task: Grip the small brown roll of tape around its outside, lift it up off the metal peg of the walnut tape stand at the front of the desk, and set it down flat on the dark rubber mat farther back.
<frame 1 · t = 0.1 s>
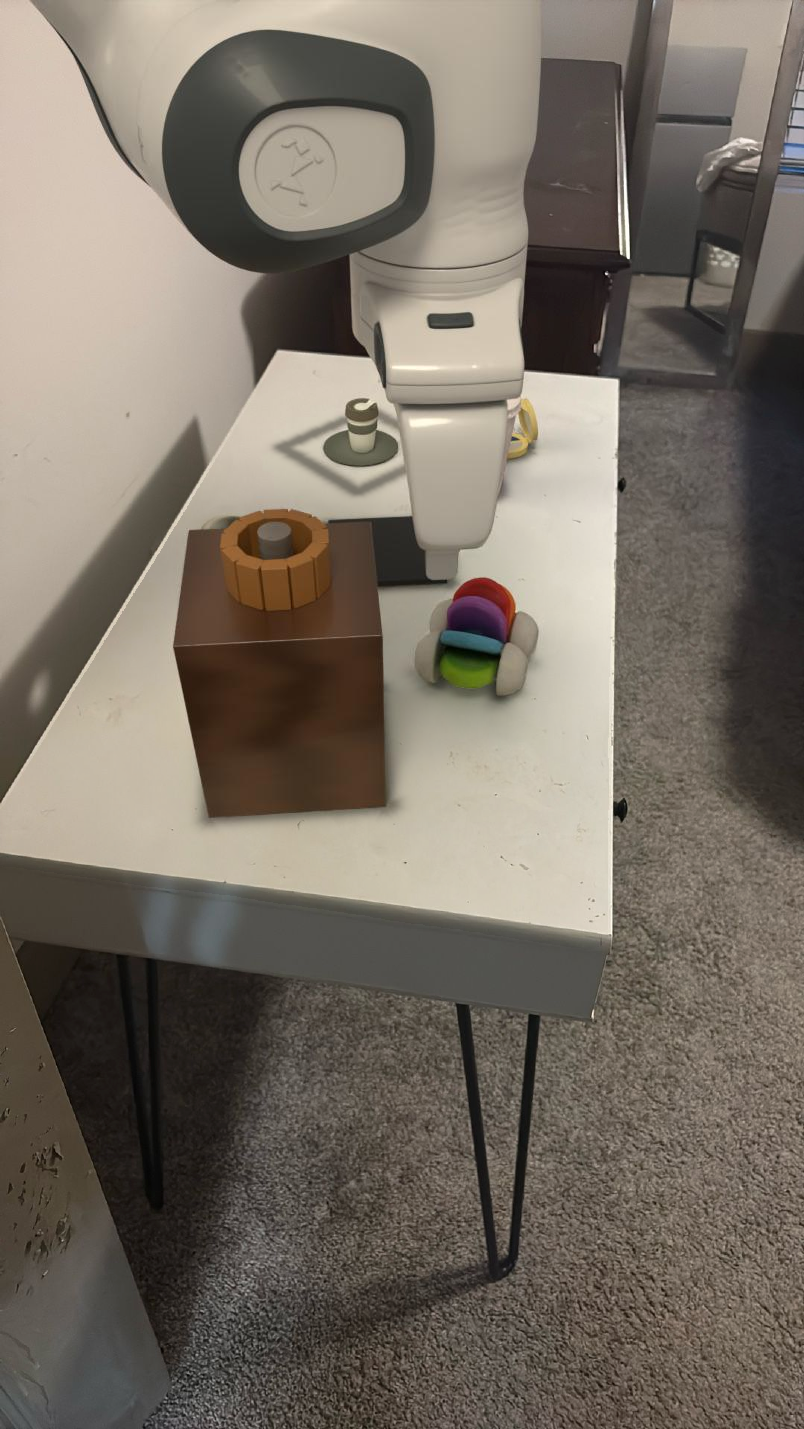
hand: (432, 527, 61), 18 cm above the table, tool pointing down, fingers open, 8 cm apart
mat: (385, 553, 90), on the table
smoothie: (481, 491, 98), on the table
eyeshadow: (508, 449, 104), on the table
tape stand: (297, 749, 72), on the table
tape roll: (279, 578, 61), point 15 cm above the table, touching tape stand
rainbow disc roller toy: (475, 668, 79), on the table
coffee cup: (363, 450, 103), on the table
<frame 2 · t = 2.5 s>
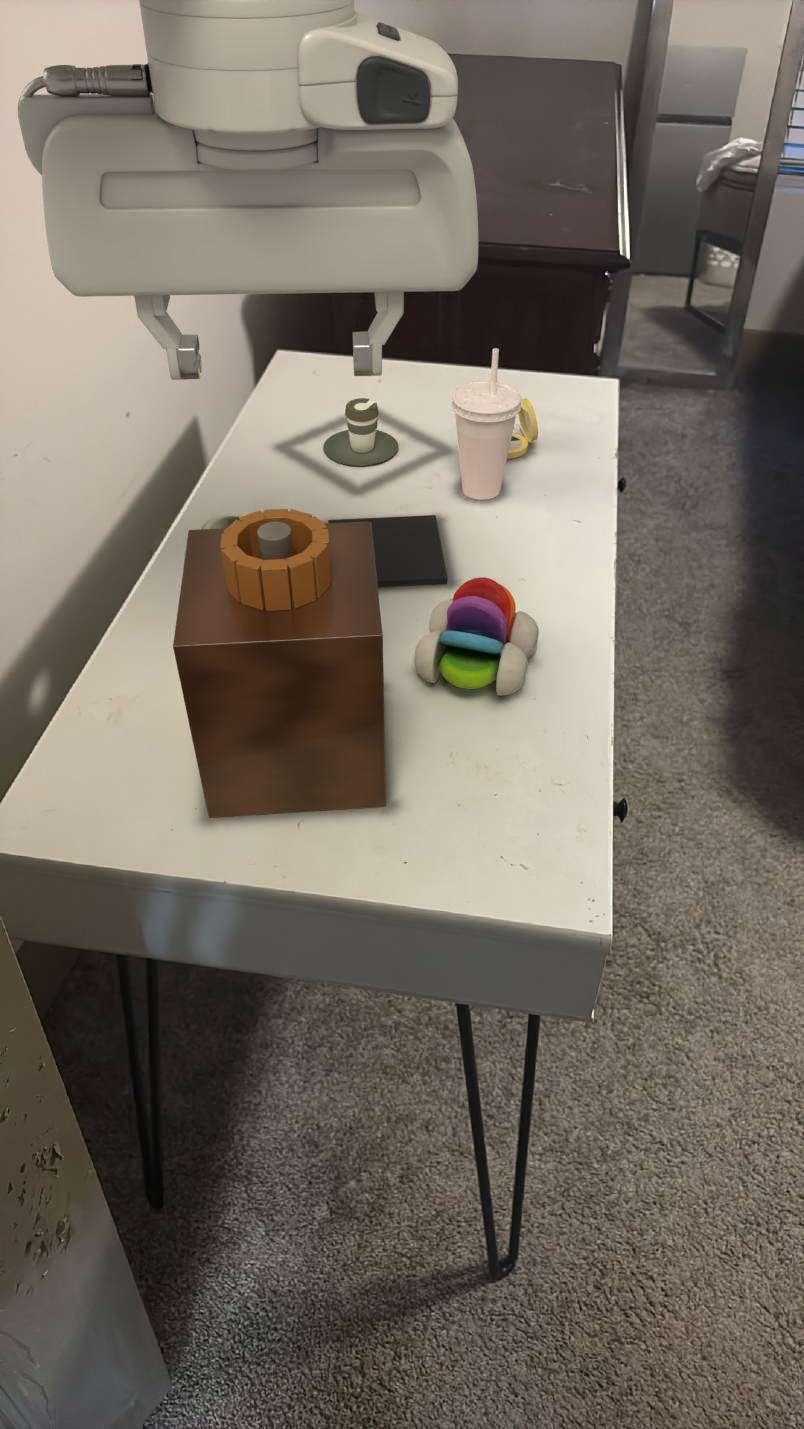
hand: (277, 373, 52), 28 cm above the table, tool pointing down, fingers open, 8 cm apart
nothing on the table moved.
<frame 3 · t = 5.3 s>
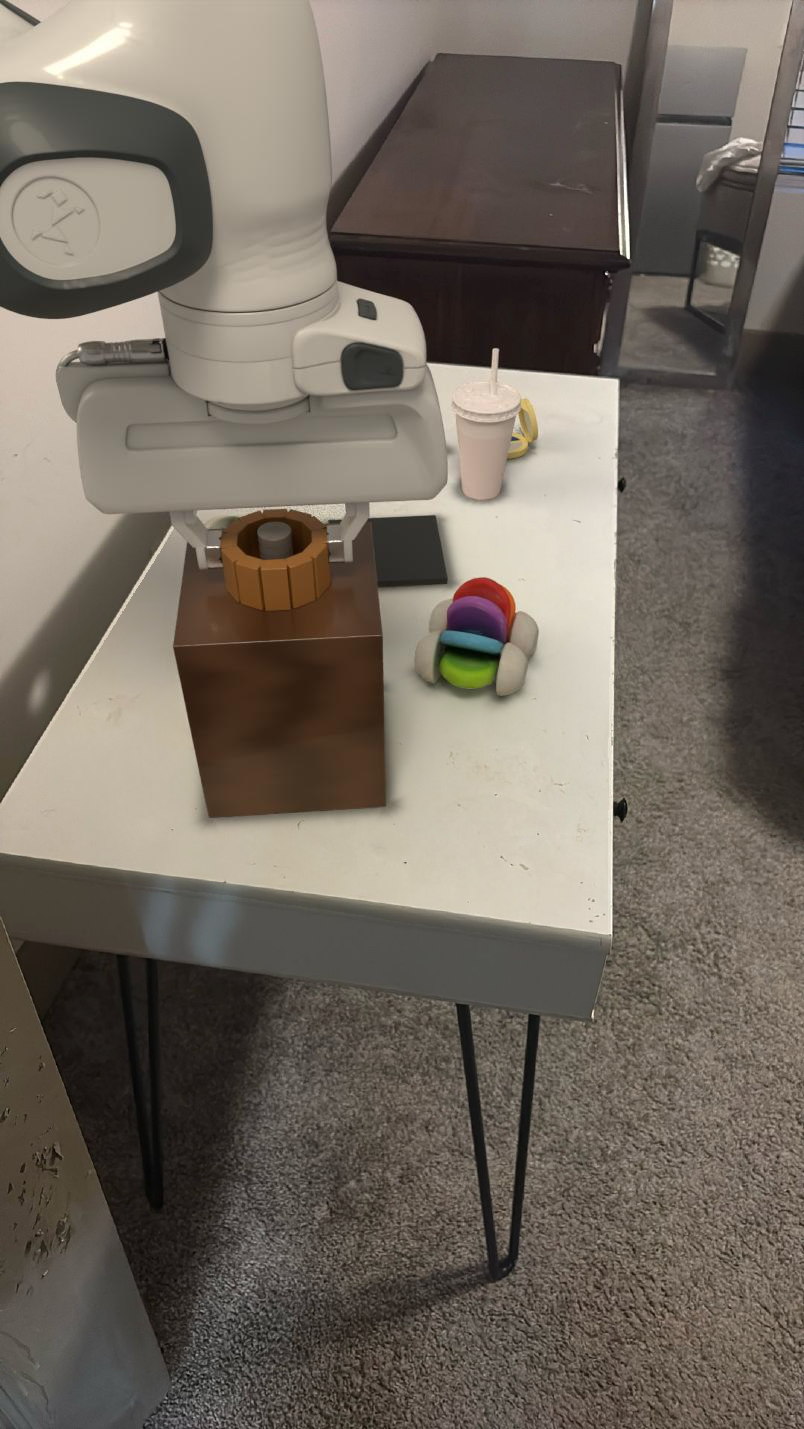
hand: (277, 560, 61), 16 cm above the table, tool pointing down, fingers closed on tape roll, 6 cm apart
tape roll: (278, 578, 61), point 15 cm above the table, touching gripper, tape stand
everything else where it was.
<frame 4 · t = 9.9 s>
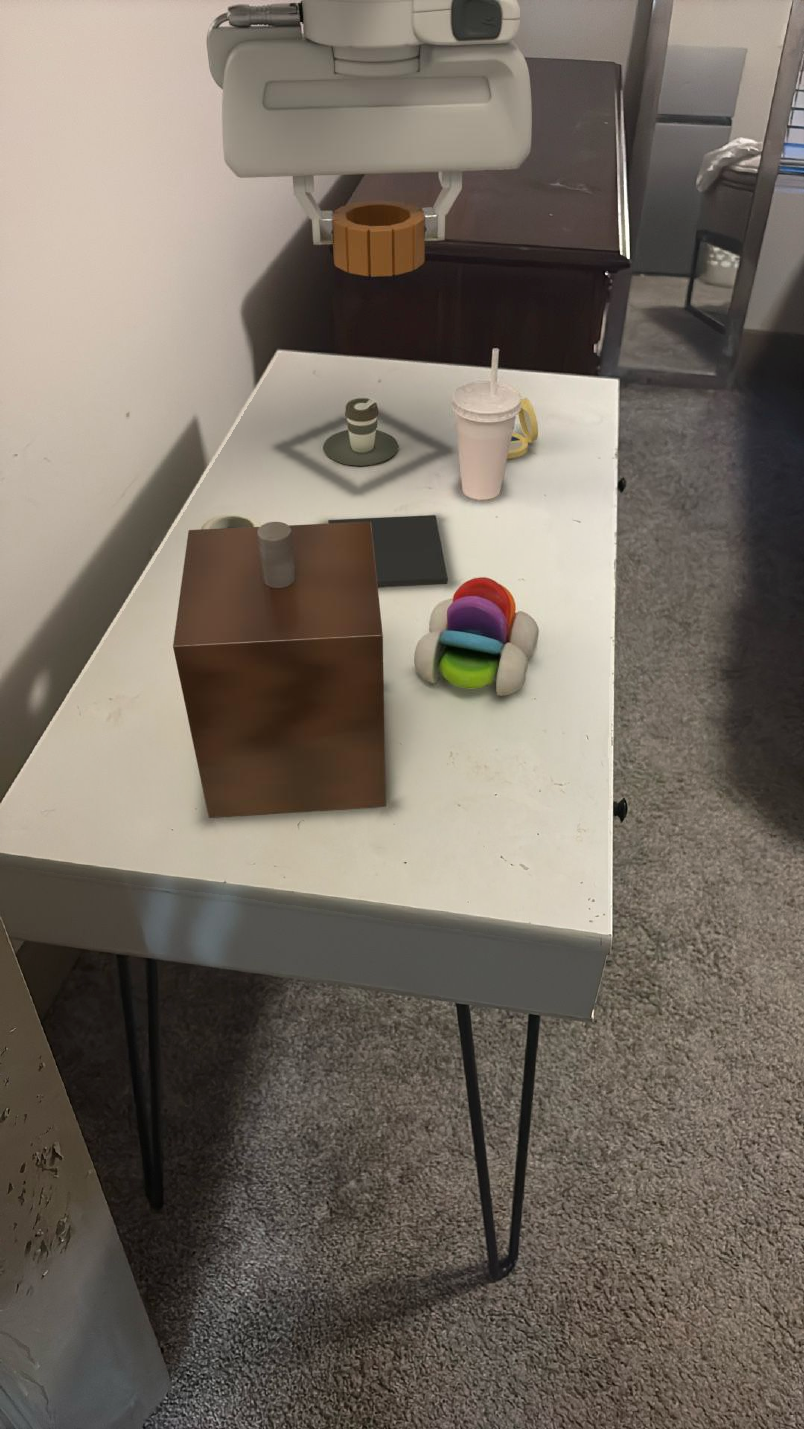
hand: (379, 240, 70), 27 cm above the table, tool pointing down, fingers closed on tape roll, 6 cm apart
tape roll: (378, 259, 71), point 26 cm above the table, touching gripper
everything else where it was.
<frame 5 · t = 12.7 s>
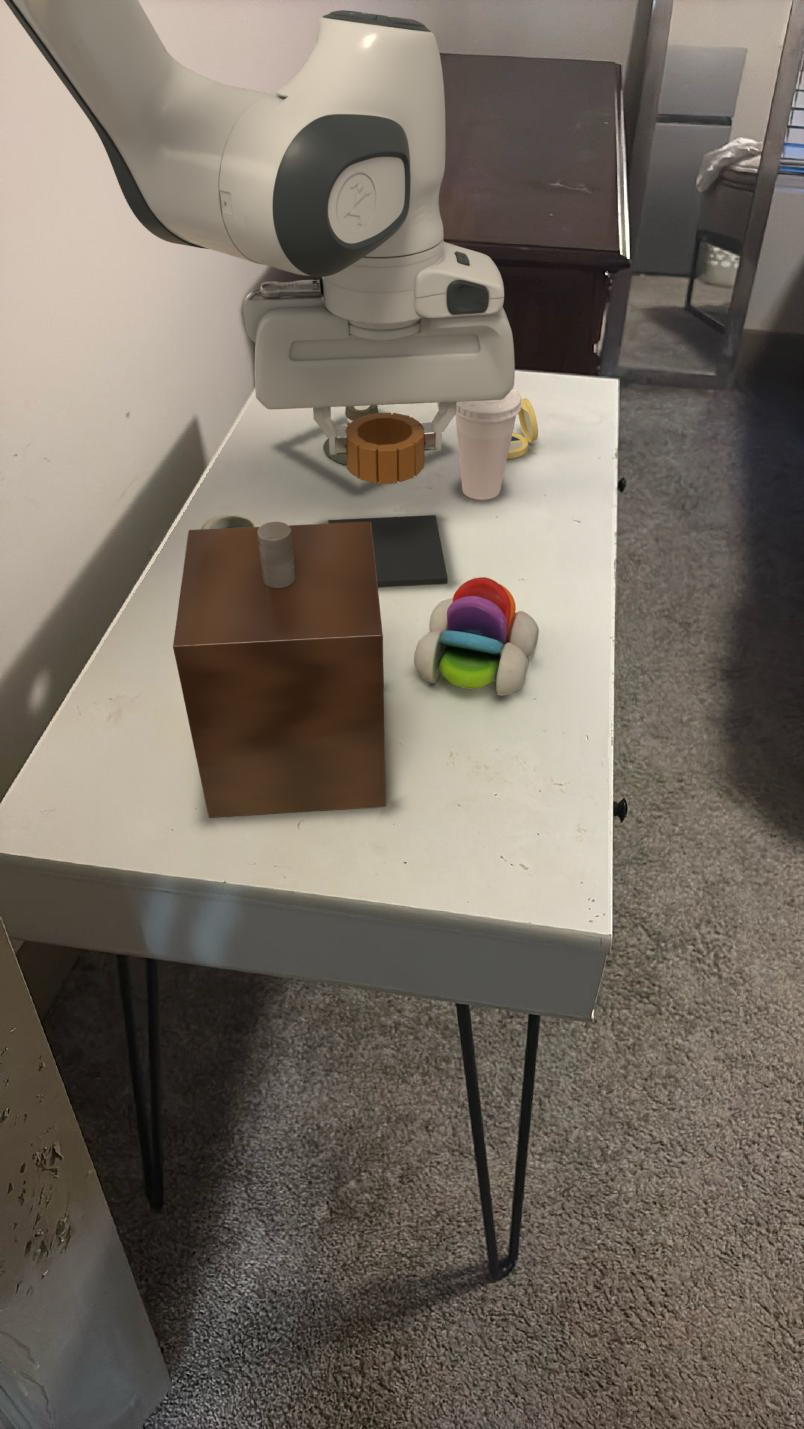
hand: (385, 449, 83), 10 cm above the table, tool pointing down, fingers closed on tape roll, 6 cm apart
tape roll: (385, 463, 83), point 9 cm above the table, touching gripper
everything else where it was.
when the fingers open (2 cm above the table, at t = 15.0 s): tape roll stays where it is, resting on mat.
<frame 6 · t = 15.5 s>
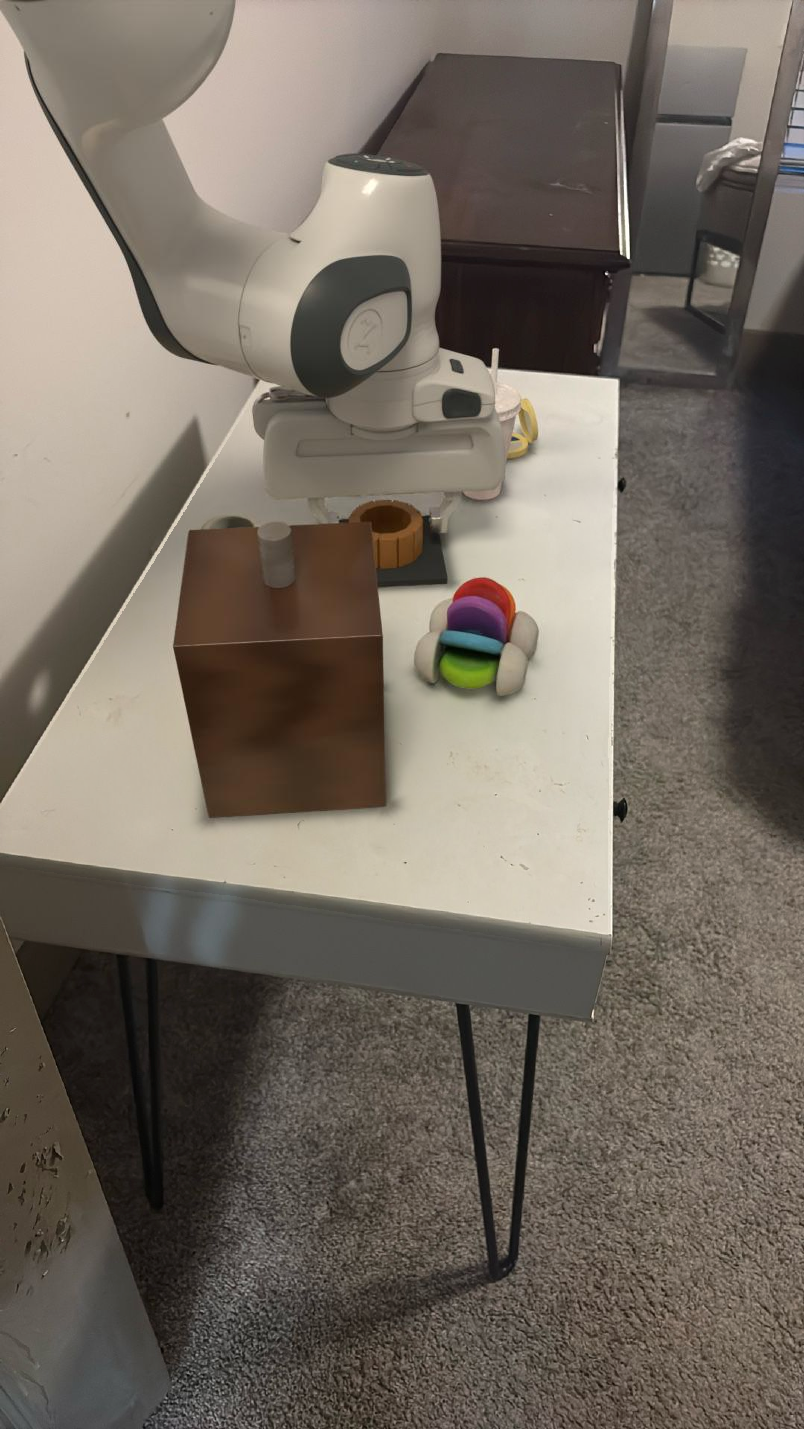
hand: (384, 532, 88), 2 cm above the table, tool pointing down, fingers open, 8 cm apart
tape roll: (386, 547, 89), point 1 cm above the table, touching mat
everything else where it was.
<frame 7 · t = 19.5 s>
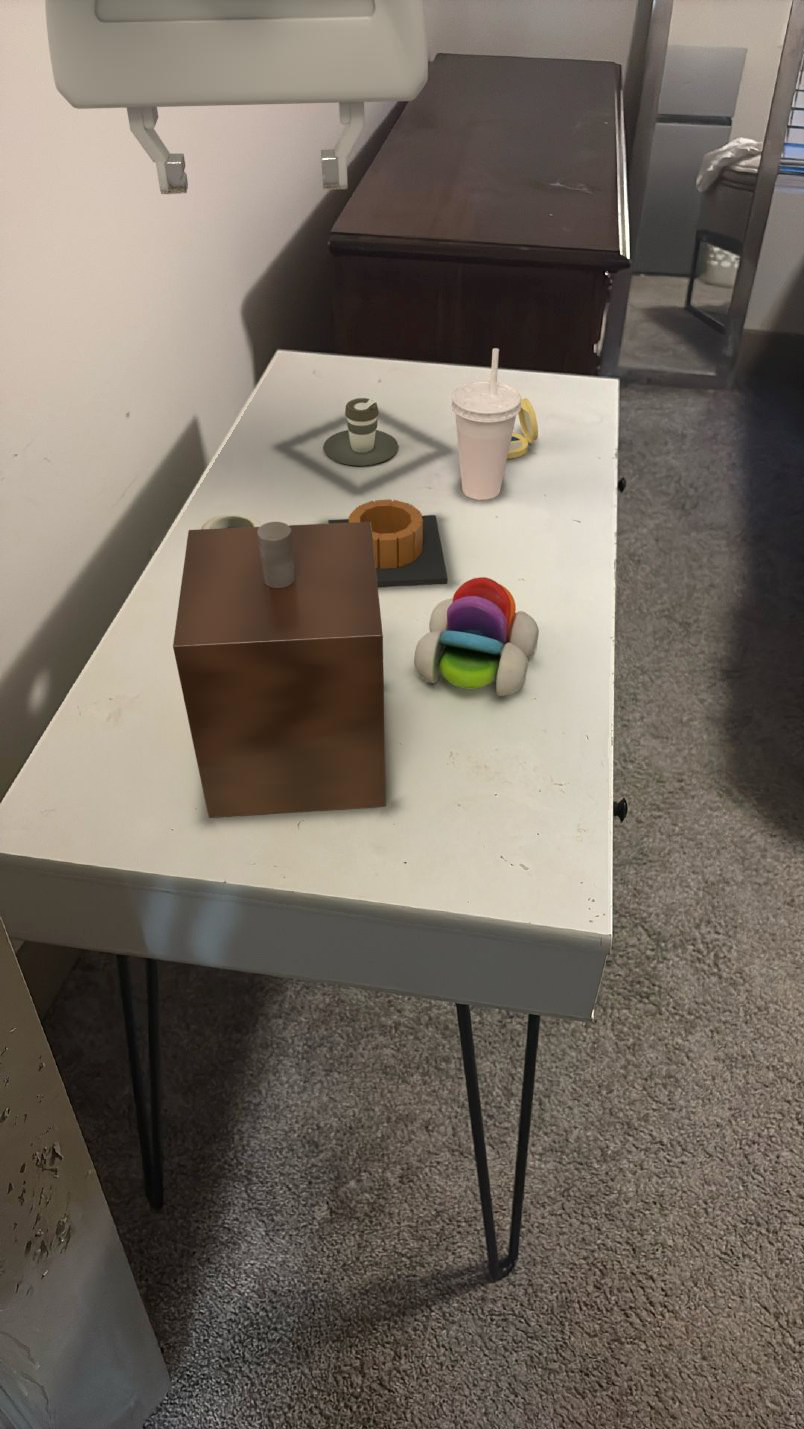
hand: (255, 189, 59), 33 cm above the table, tool pointing down, fingers open, 8 cm apart
nothing on the table moved.
at the end: tape roll inside the target area on the mat (0.0 cm from its centre), point 0.6 cm above the mat's base; tape roll tilted 0°; the gripper is holding nothing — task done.
